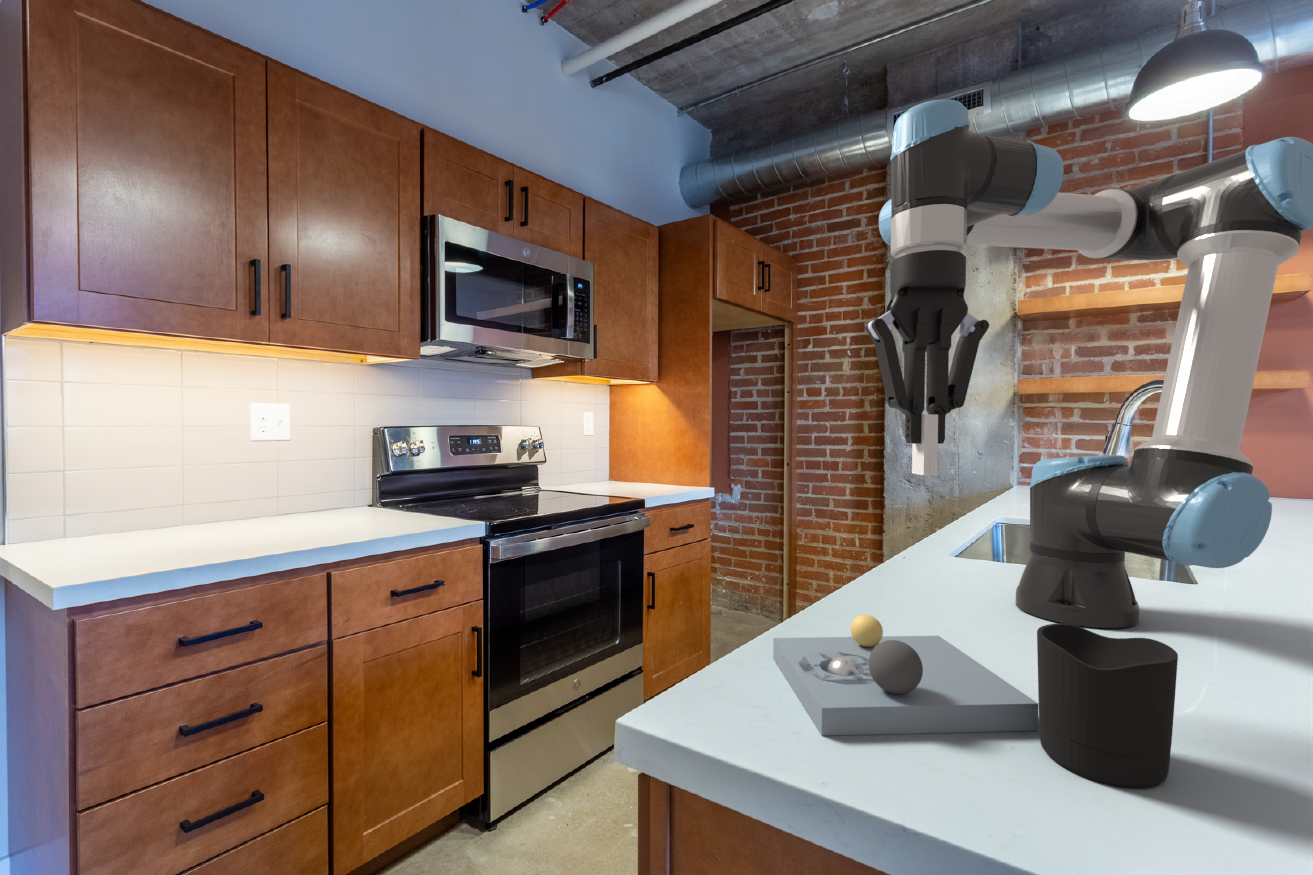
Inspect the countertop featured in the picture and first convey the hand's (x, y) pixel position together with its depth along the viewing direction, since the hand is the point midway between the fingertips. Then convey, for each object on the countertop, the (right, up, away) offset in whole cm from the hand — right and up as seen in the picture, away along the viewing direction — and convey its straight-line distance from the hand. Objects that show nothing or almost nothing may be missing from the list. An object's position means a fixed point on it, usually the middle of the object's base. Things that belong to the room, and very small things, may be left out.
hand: (924, 474), depth 68 cm
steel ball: (-10, -21, -3) cm, 23 cm away
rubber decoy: (-7, -18, -9) cm, 21 cm away
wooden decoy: (-5, -18, +3) cm, 19 cm away
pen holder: (+8, -23, -16) cm, 29 cm away
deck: (-5, -23, -3) cm, 23 cm away
